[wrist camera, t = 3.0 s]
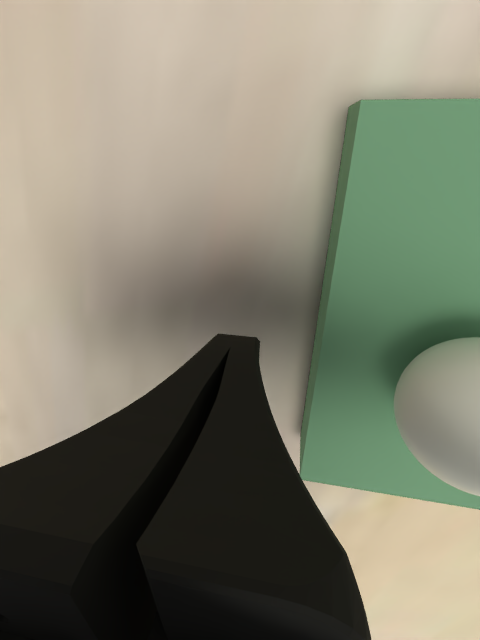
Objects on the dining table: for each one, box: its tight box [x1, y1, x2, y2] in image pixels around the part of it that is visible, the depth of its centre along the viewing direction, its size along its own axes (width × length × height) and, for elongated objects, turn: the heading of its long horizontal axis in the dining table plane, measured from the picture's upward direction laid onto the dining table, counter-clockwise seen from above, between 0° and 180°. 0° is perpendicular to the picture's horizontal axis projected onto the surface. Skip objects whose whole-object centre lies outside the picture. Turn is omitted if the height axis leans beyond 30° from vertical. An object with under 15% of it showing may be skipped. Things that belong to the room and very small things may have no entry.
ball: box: [394, 337, 480, 496], centre depth 8 cm, size 4×4×4 cm
